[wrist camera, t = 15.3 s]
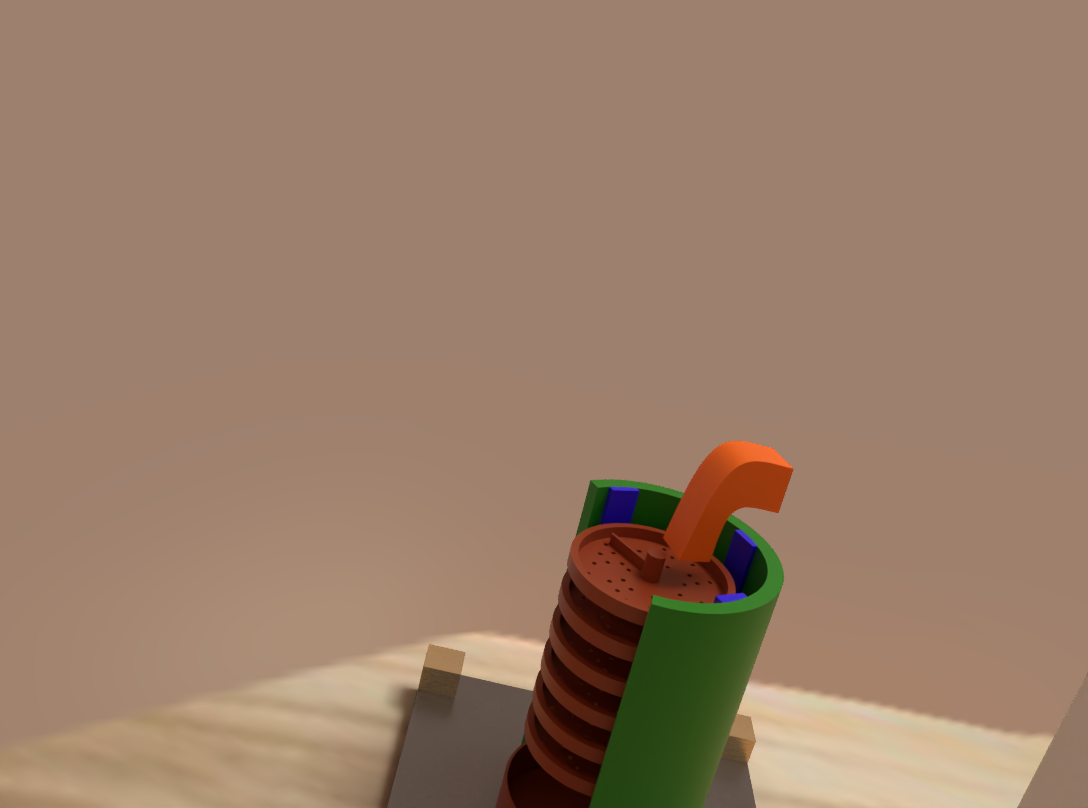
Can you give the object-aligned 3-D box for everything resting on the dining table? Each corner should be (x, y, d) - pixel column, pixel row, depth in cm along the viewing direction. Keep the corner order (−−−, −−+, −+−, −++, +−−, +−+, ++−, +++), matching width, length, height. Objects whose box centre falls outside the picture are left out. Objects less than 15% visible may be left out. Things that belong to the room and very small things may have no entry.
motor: (459, 763, 50) (555, 388, 43) (614, 739, 54) (725, 395, 47) (550, 938, 42) (687, 513, 35) (723, 894, 46) (877, 507, 39)
